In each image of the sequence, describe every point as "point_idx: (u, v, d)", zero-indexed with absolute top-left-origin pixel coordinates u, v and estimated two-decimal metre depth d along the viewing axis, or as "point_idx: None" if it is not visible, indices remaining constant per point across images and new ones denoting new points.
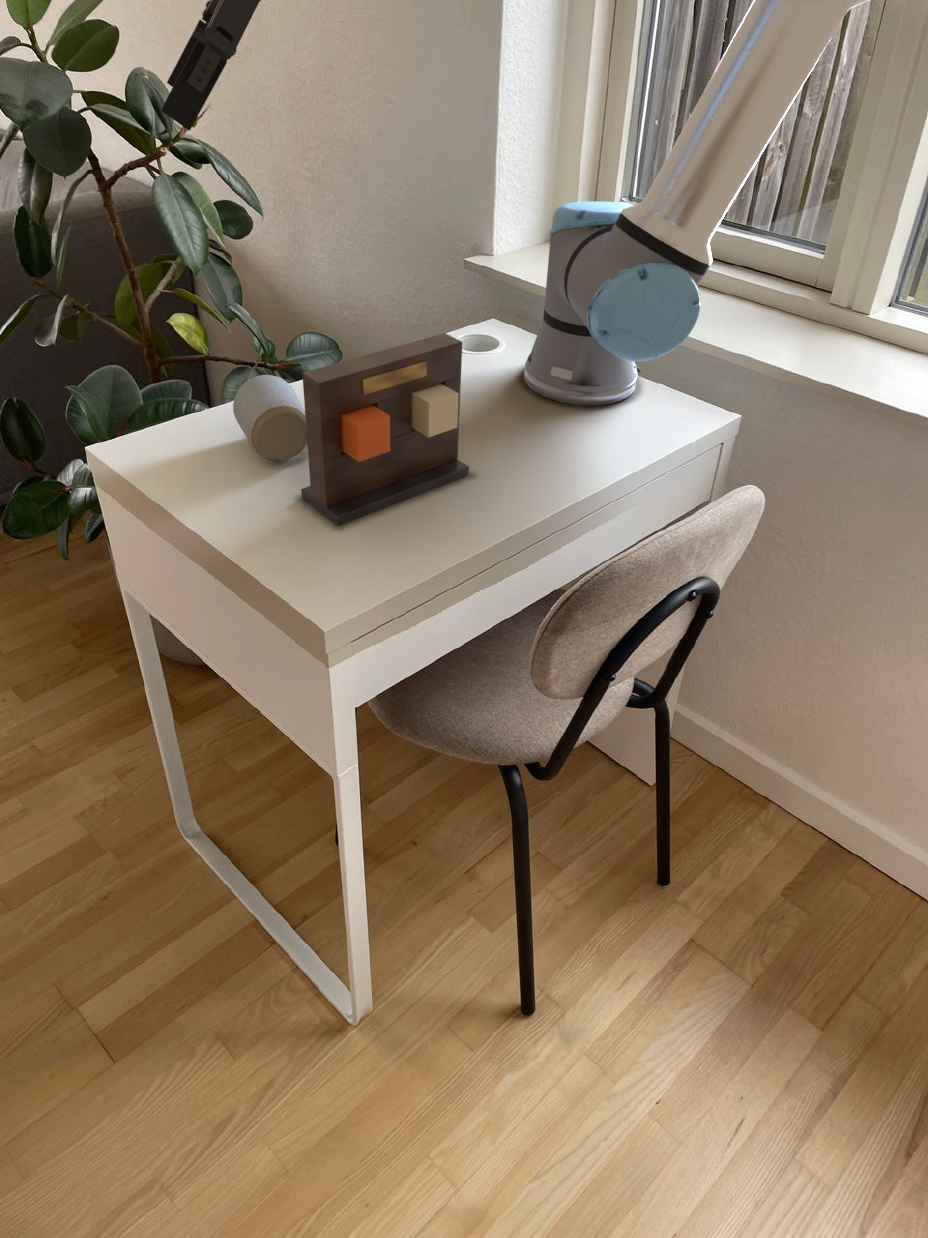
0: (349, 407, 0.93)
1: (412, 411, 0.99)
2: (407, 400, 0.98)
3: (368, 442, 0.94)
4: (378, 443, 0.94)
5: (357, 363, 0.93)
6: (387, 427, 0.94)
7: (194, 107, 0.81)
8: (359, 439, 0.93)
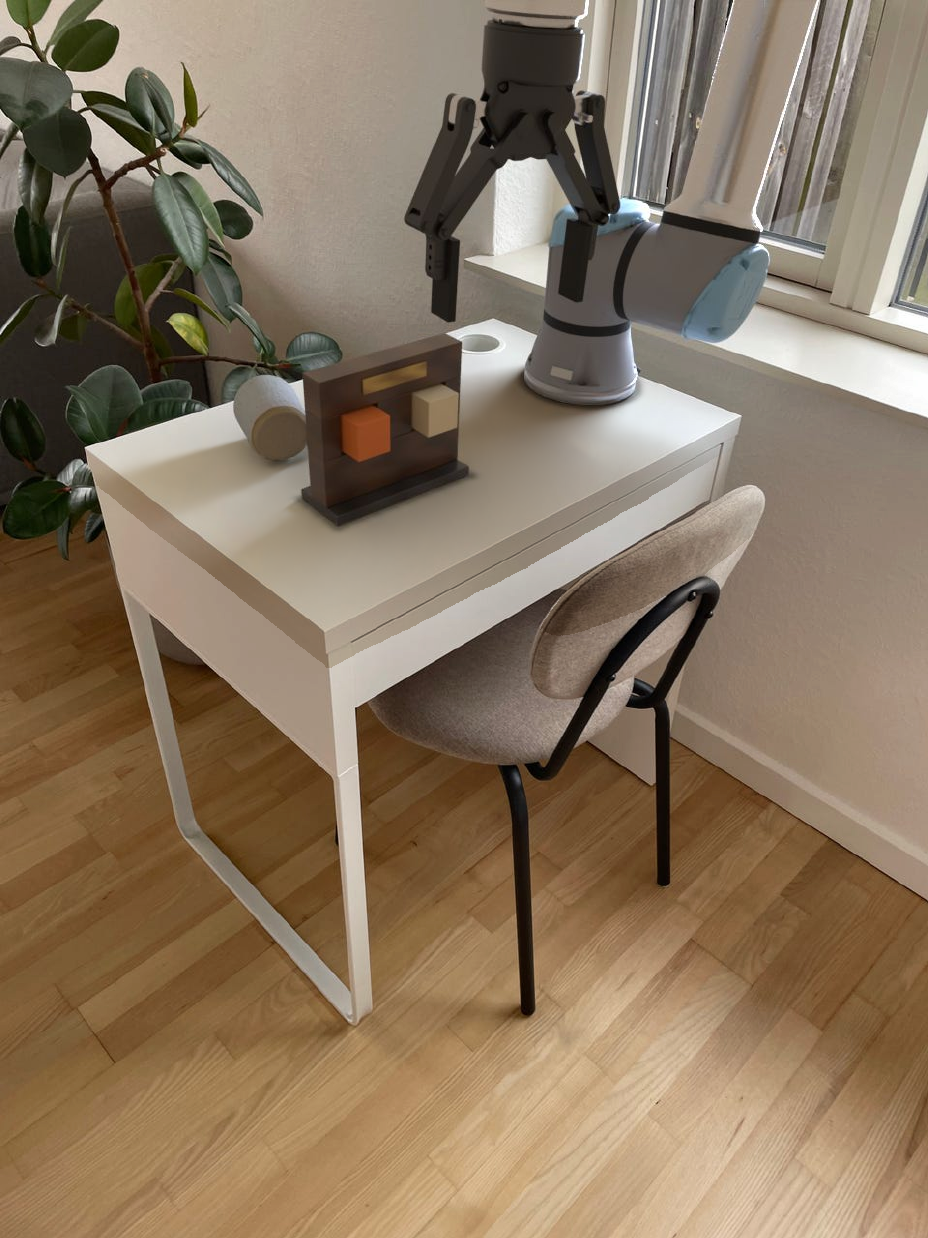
0: (349, 407, 0.93)
1: (412, 411, 0.99)
2: (407, 400, 0.98)
3: (368, 442, 0.94)
4: (378, 443, 0.94)
5: (357, 363, 0.93)
6: (387, 427, 0.94)
7: None
8: (359, 439, 0.93)
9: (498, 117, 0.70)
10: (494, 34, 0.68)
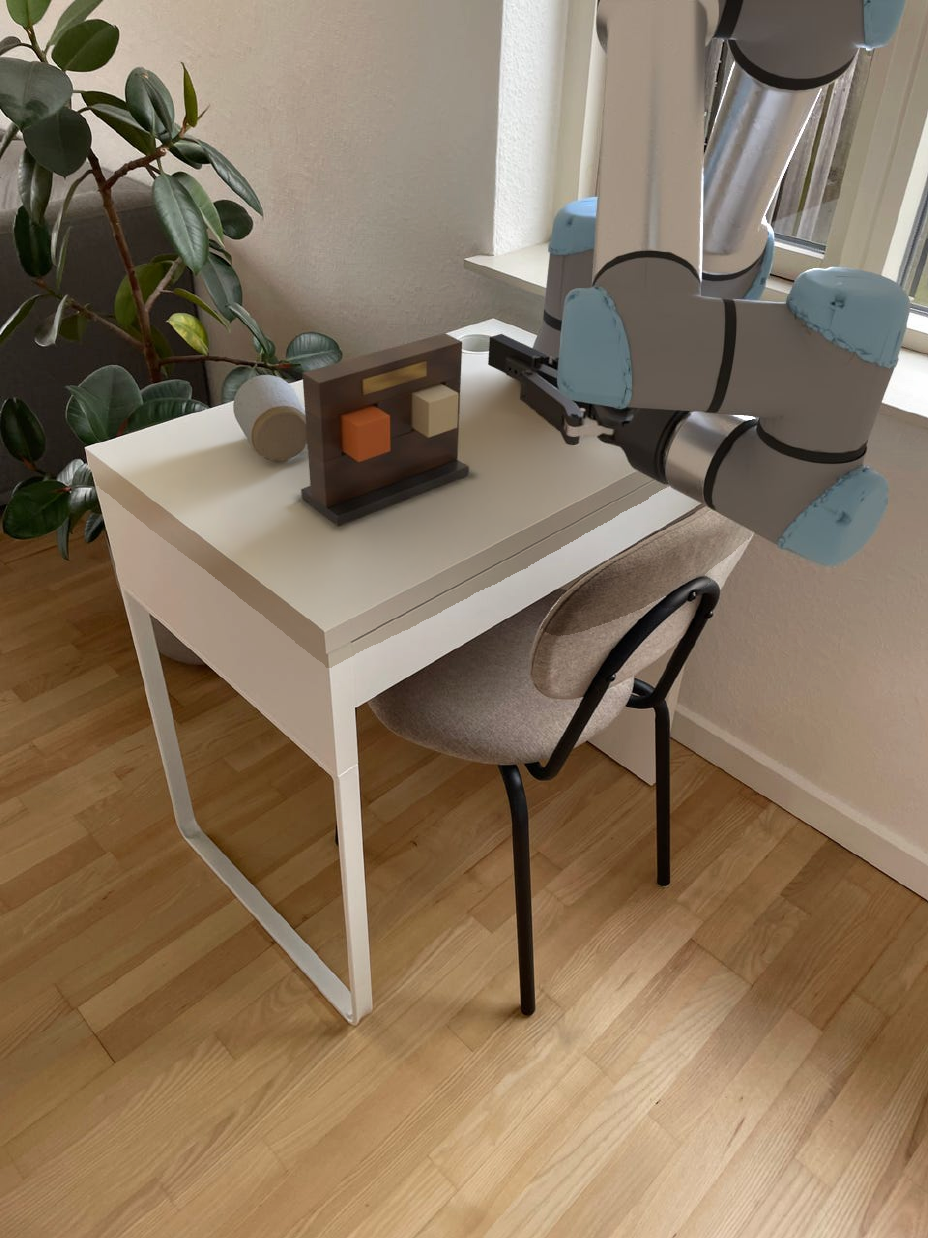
0: (349, 407, 0.93)
1: (412, 411, 0.99)
2: (407, 400, 0.98)
3: (368, 442, 0.94)
4: (378, 443, 0.94)
5: (357, 363, 0.93)
6: (387, 427, 0.94)
7: None
8: (359, 439, 0.93)
9: None
10: (650, 455, 0.73)
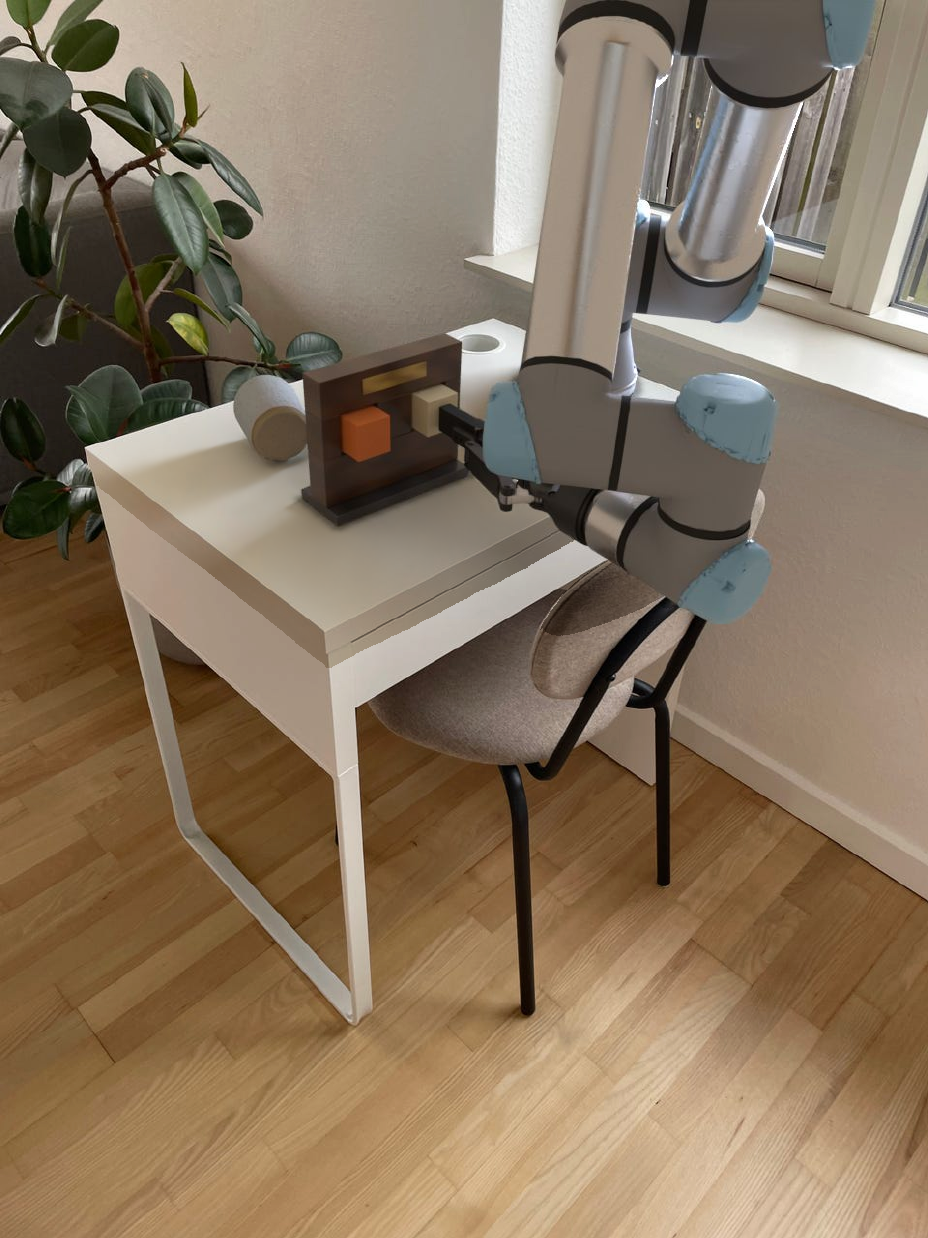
0: (349, 407, 0.93)
1: (411, 411, 0.99)
2: (407, 400, 0.98)
3: (368, 442, 0.94)
4: (378, 443, 0.94)
5: (357, 363, 0.93)
6: (387, 427, 0.94)
7: None
8: (359, 439, 0.93)
9: None
10: (572, 522, 0.83)
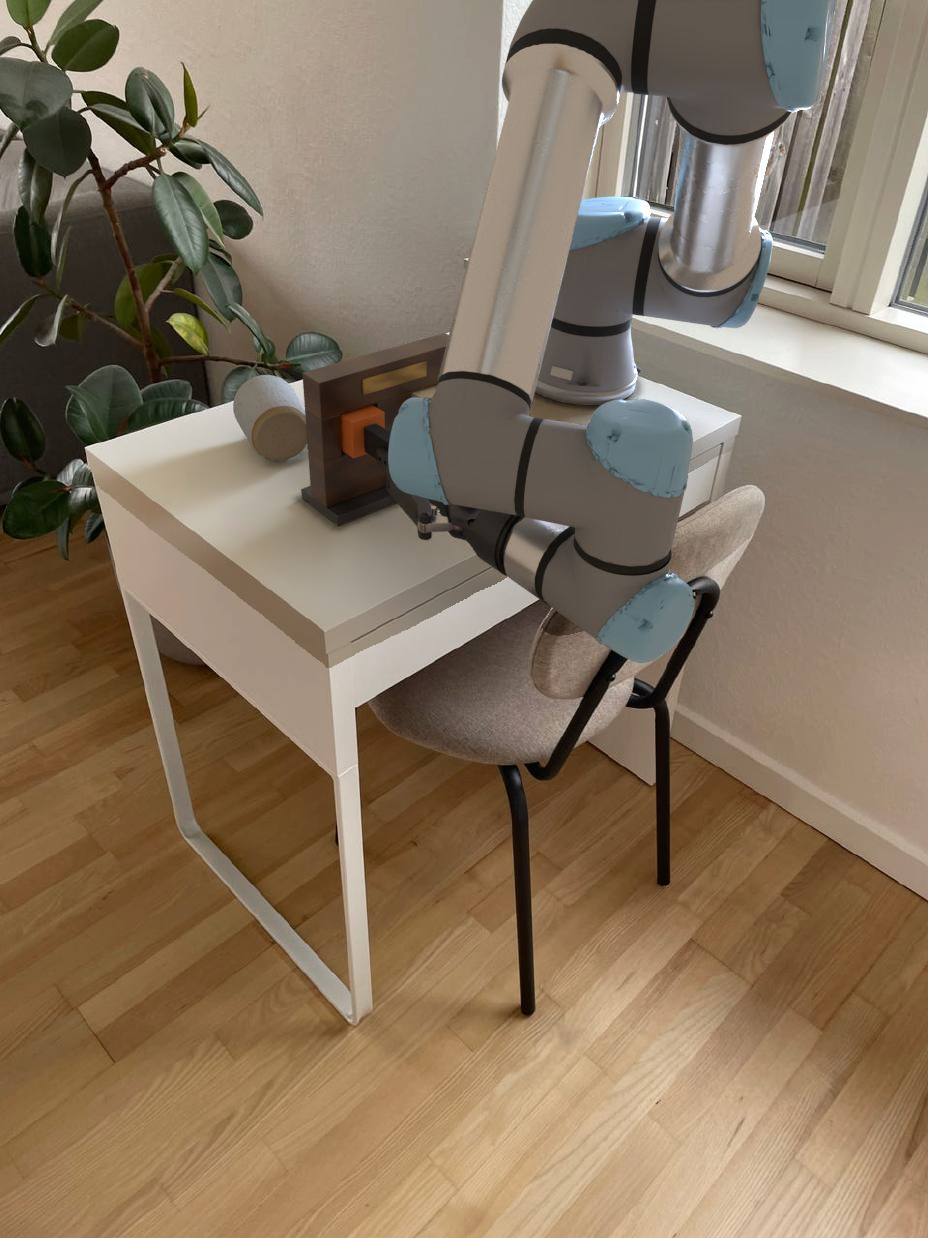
0: (349, 407, 0.93)
1: None
2: None
3: (363, 439, 0.94)
4: None
5: (357, 363, 0.93)
6: (382, 424, 0.95)
7: None
8: (354, 436, 0.93)
9: None
10: (491, 552, 0.79)
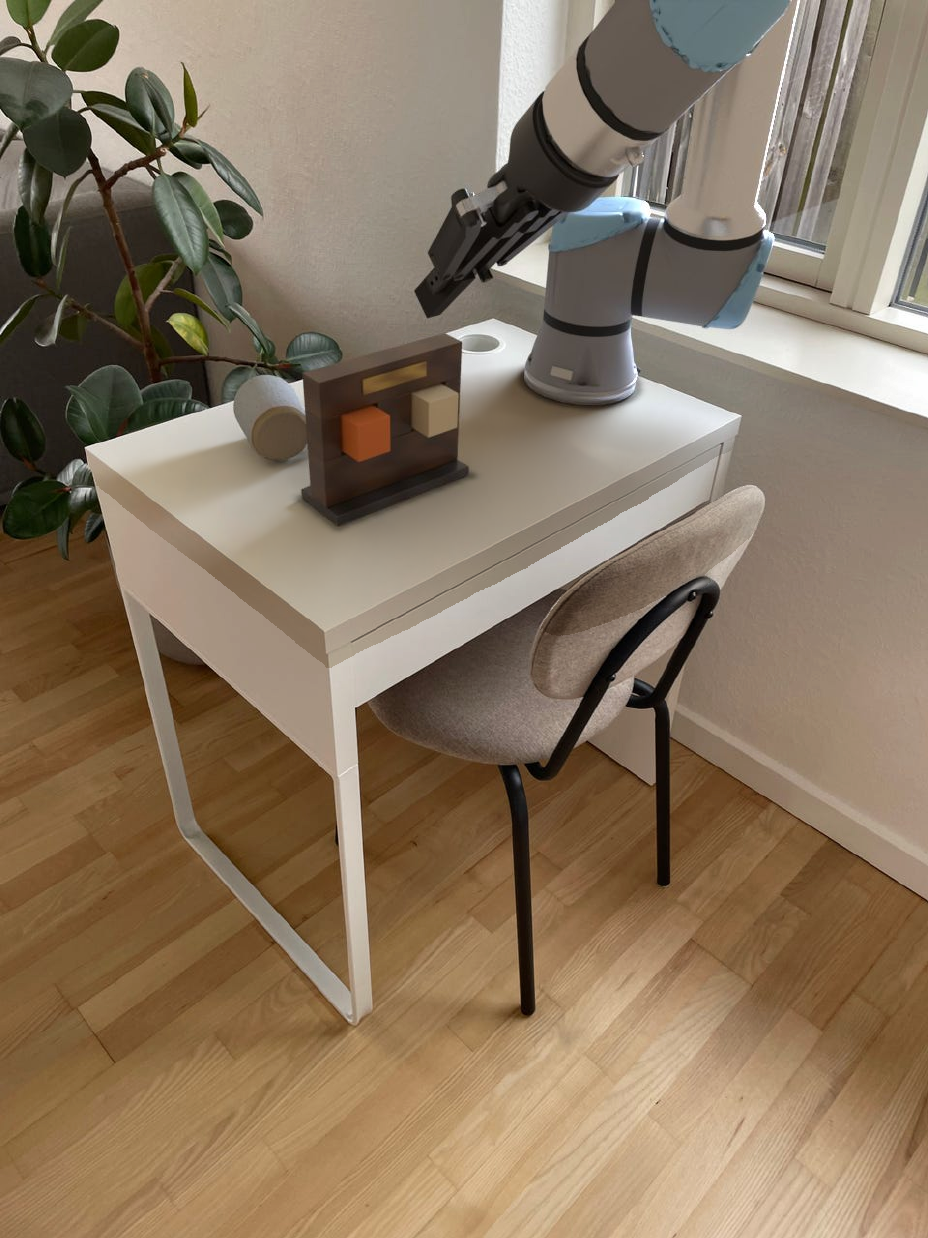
0: (349, 407, 0.93)
1: (412, 411, 0.99)
2: (407, 400, 0.98)
3: (368, 442, 0.94)
4: (378, 443, 0.94)
5: (357, 363, 0.93)
6: (387, 427, 0.94)
7: None
8: (359, 439, 0.93)
9: (505, 206, 0.66)
10: (537, 149, 0.62)
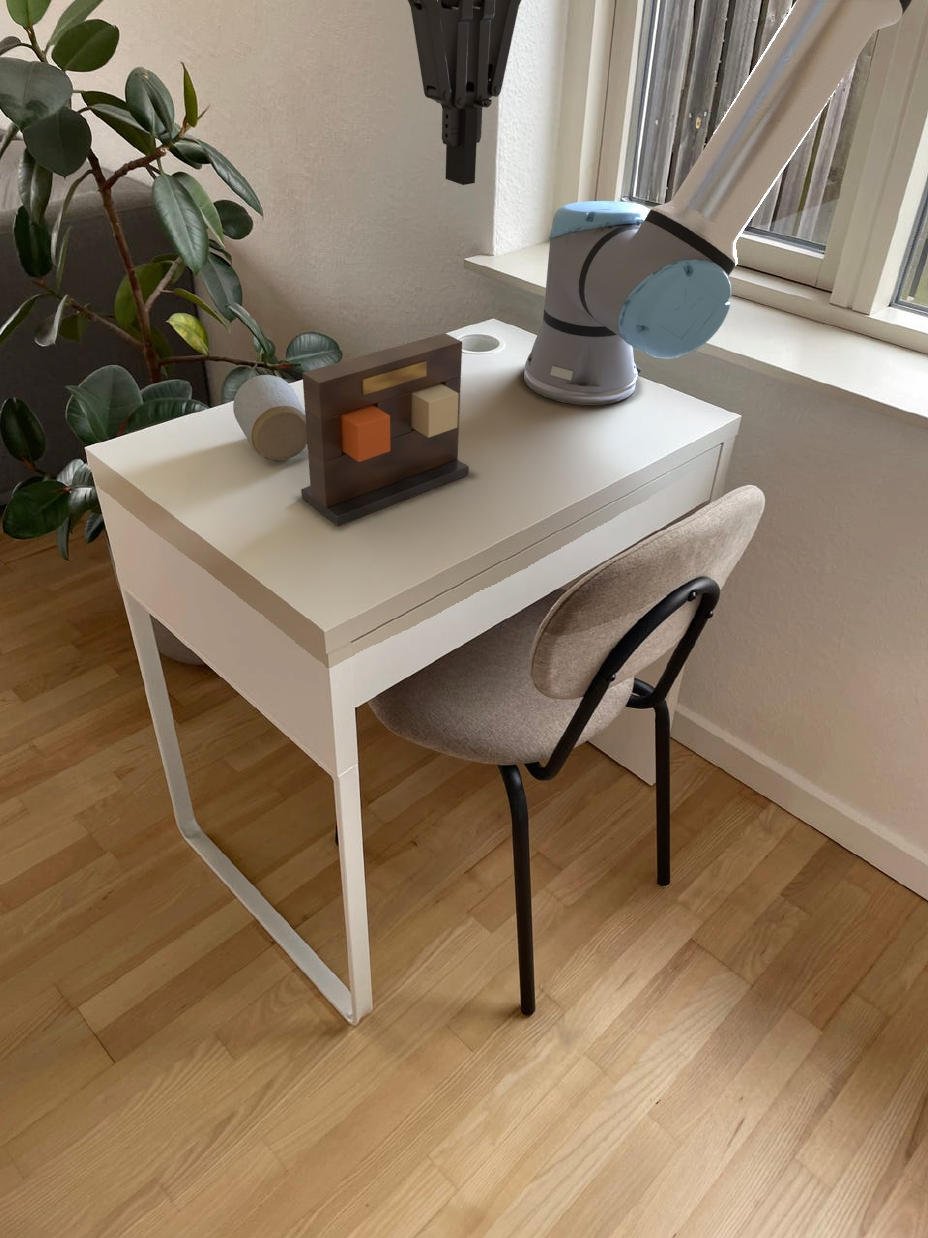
0: (349, 407, 0.93)
1: (412, 411, 0.99)
2: (407, 400, 0.98)
3: (368, 442, 0.94)
4: (378, 443, 0.94)
5: (357, 363, 0.93)
6: (387, 427, 0.94)
7: None
8: (359, 439, 0.93)
9: None
10: None
